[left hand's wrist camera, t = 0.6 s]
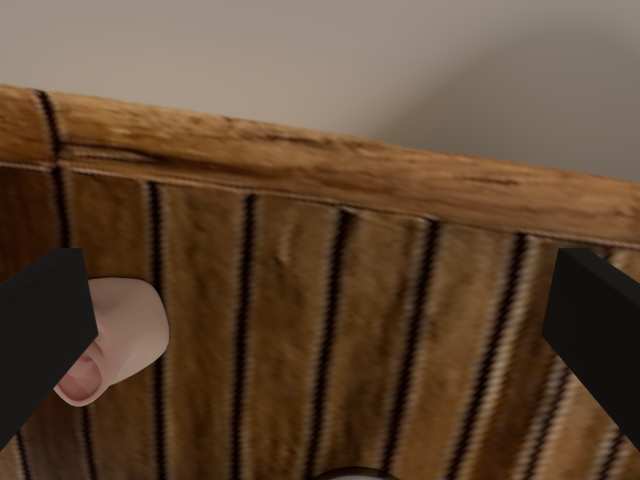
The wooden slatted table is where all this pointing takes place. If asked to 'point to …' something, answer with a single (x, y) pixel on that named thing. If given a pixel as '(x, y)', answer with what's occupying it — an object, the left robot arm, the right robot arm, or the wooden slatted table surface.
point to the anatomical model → (117, 338)
